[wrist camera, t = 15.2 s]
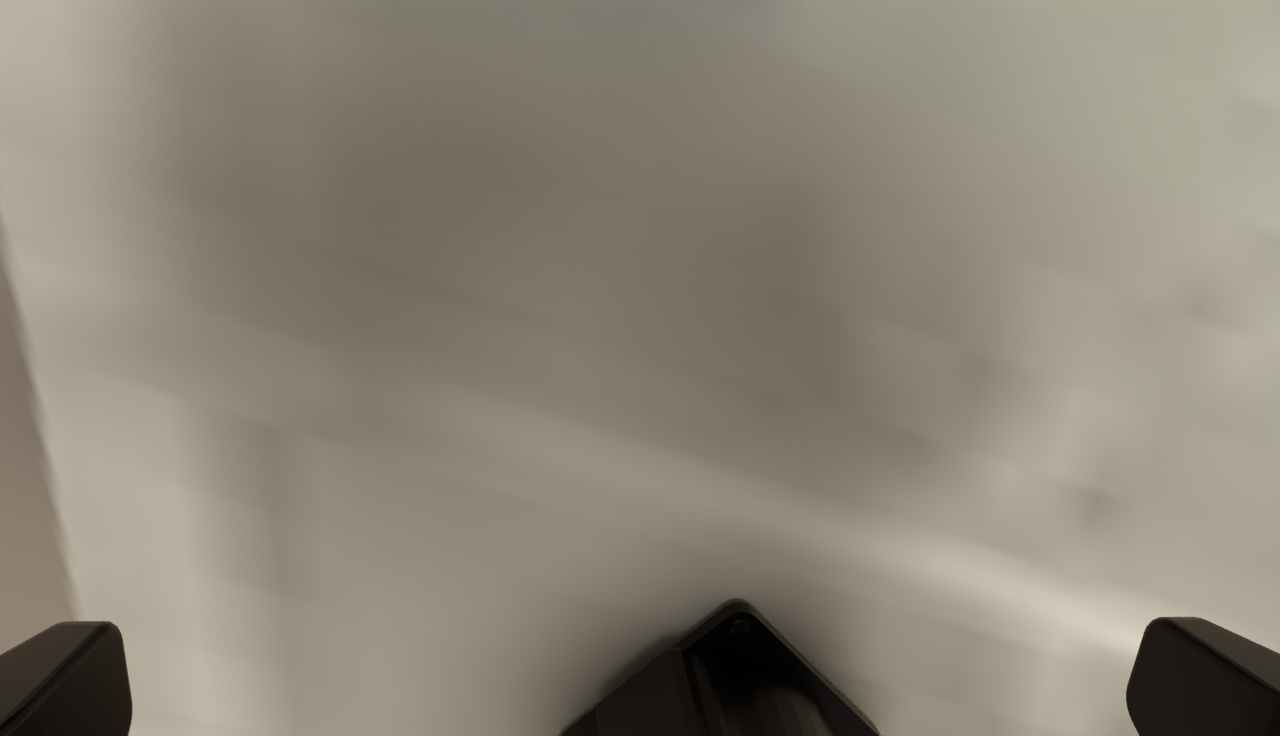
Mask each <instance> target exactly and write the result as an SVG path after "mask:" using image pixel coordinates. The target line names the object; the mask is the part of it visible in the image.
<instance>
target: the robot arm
mask: <svg viewBox="0 0 1280 736" xmlns="http://www.w3.org/2000/svg"><path fill="white" fill-rule="evenodd" d="M738 620H744V621H746V623H745V624H744V625H743V626H740V627H732V624H733V623H734V622H736V621H738ZM1126 701H1127V708H1128V711H1129V715H1130V717H1131V720H1132V722H1133V724H1134V726H1135V728H1136V730H1137V732H1138V734H1139V736H1280V654H1279V653H1277V652H1275V651H1272V650H1270V649H1268V648H1266V647H1264V646H1262V645H1259V644H1257V643H1255V642H1253V641H1251V640H1248V639H1246V638H1244V637H1242V636H1240V635H1238V634H1235V633H1233V632H1231V631H1229V630H1227V629H1224V628H1222V627H1220V626H1218V625H1216V624H1214V623H1211V622H1209V621H1207V620H1204V619H1202V618H1197V617H1159V618H1157V619H1154V620H1152V621H1151V622H1150V623H1149V625H1148V626H1147V627H1146V629H1145V631H1144V634H1143V637H1142V641H1141V644H1140V647H1139V650H1138V653H1137V656H1136V660H1135V663H1134V666H1133V669H1132V672H1131V676H1130V679H1129V682H1128V685H1127V690H1126ZM131 720H132V698H131V691H130V684H129V678H128V671H127V665H126V658H125V651H124V645H123V639H122V635H121V632H120V630H119V628H118V627H117V626H116V625H114V624H113V623H111V622H109V621H67V622H61V623H57V624H55V625H53V626H51V627H50V628H48V629H46V630H44V631H42V632H41V633H39V634H37V635H35V636H34V637H32V638H30V639H28V640H26V641H25V642H23V643H21V644H19V645H17V646H16V647H14V648H12V649H11V650H9V651H7V652H5V653H3V654H1V655H0V736H128V734H129V730H130V726H131ZM562 736H881V735H880V733H879V731H878V730H877V728H876V727H875V726H874V725H873V724H872V723H871V722H870V721H869V720H868V719H867V718H866V717H865V716H864V715H863V714H862V713H861V712H860V711H859V710H858V709H857V708H856V707H855V706H854V705H853V704H852V703H851V702H850V701H849V700H847V699H846V698H845V697H844V696H843V695H842V694H841V693H840V692H839V691H838V690H837V689H836V688H835V687H834V686H833V685H832V684H831V683H830V682H829V681H828V680H827V679H826V678H825V677H824V676H823V675H822V674H821V673H820V672H819V671H818V670H817V669H816V668H814V667H813V666H812V665H811V664H810V663H809V662H808V661H807V660H806V659H805V658H804V657H803V656H802V655H801V654H800V653H799V652H798V651H797V650H796V649H795V648H794V647H793V646H792V645H791V644H790V643H789V642H788V641H787V640H786V639H785V638H784V637H783V636H782V635H780V634H779V633H778V632H777V631H776V630H775V629H774V628H773V627H772V626H771V625H770V624H769V623H768V622H767V621H766V620H765V619H764V618H763V617H762V616H761V615H760V614H759V613H758V612H757V611H756V610H755V609H754V608H753V607H751V606H750V605H748V604H746V603H740V602H738V603H733V604H730V605H728V606H726V607H725V608H723V609H722V610H721V611H720V612H718V613H717V614H716V615H714V616H713V617H712V618H711V619H709V620H708V621H707V622H705V623H704V624H703V625H702V626H700V627H699V628H698V629H696V630H695V631H694V632H693V633H691V634H690V635H689V636H688V637H686V638H685V639H684V640H682V641H681V642H680V643H679V644H677V645H676V646H675V647H673V648H672V649H668V650H666V651H665V652H664V653H662V654H661V655H660V656H659V657H657V658H656V659H655V660H654V661H652V662H651V663H650V664H648V665H647V666H646V667H645V668H643V669H642V670H641V671H639V672H638V673H637V674H636V675H634V676H633V677H632V678H631V679H629V680H628V681H627V682H625V683H624V684H623V685H622V686H620V687H619V688H618V689H616V690H615V691H614V692H613V693H611V694H610V695H609V696H607V697H606V698H605V699H604V700H602V701H601V702H600V703H599V704H598V706H597V708H595V709H594V710H593V711H592V712H590V713H589V714H588V715H586V716H585V717H584V718H583V719H581V720H580V721H579V722H577V723H576V724H575V725H574V726H572V727H571V728H570V729H569V730H567V731H566V732H565V733H563V735H562Z"/></svg>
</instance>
